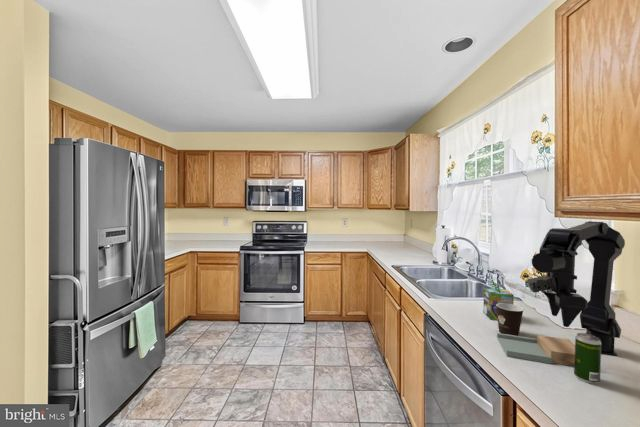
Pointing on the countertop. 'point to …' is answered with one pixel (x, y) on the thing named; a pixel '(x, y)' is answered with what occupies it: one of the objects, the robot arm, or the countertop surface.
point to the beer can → (587, 358)
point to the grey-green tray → (522, 348)
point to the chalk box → (495, 300)
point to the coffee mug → (508, 318)
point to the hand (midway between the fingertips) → (559, 321)
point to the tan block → (557, 349)
